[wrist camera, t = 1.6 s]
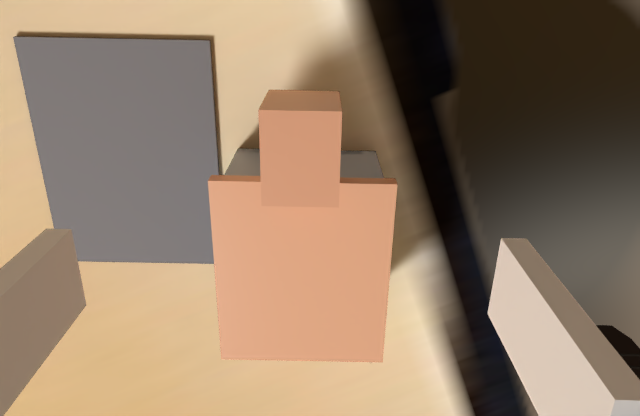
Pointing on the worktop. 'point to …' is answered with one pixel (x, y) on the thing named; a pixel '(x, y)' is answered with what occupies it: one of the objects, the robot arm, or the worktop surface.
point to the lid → (302, 242)
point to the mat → (125, 143)
